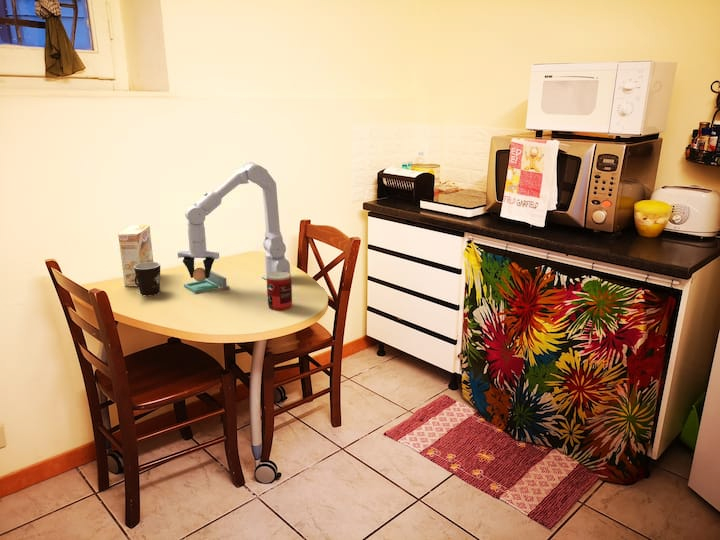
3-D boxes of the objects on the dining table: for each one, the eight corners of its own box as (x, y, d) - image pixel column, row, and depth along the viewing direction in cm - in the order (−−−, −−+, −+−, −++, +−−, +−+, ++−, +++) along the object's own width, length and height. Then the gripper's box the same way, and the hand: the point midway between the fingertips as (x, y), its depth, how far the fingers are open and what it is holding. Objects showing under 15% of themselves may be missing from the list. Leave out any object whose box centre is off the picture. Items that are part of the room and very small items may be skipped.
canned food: (270, 302, 182) (268, 270, 179) (293, 302, 182) (292, 271, 179) (265, 310, 175) (264, 278, 172) (290, 311, 175) (289, 278, 171)
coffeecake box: (143, 286, 197) (137, 233, 191) (123, 286, 196) (116, 234, 190) (155, 273, 211) (150, 224, 205) (137, 273, 211) (131, 224, 205)
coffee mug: (153, 287, 196) (150, 260, 193) (168, 291, 191) (165, 264, 188) (124, 296, 187) (120, 268, 184) (138, 301, 182) (135, 272, 179)
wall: (229, 288, 195) (228, 277, 194) (221, 289, 193) (221, 279, 192) (211, 278, 205) (210, 268, 204) (204, 280, 203) (203, 270, 202)
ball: (210, 281, 195) (209, 268, 194) (198, 284, 192) (197, 270, 190) (202, 278, 198) (201, 265, 197) (190, 281, 195) (189, 267, 193)
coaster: (218, 288, 195) (218, 285, 195) (194, 293, 190) (194, 290, 189) (207, 282, 202) (207, 279, 201) (184, 287, 196) (183, 284, 196)
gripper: (221, 238, 194) (223, 274, 198) (182, 237, 195) (185, 273, 199) (214, 243, 187) (216, 280, 191) (173, 241, 188) (177, 279, 192)
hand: (200, 277), depth 194 cm, fingers closed on ball, 5 cm apart
